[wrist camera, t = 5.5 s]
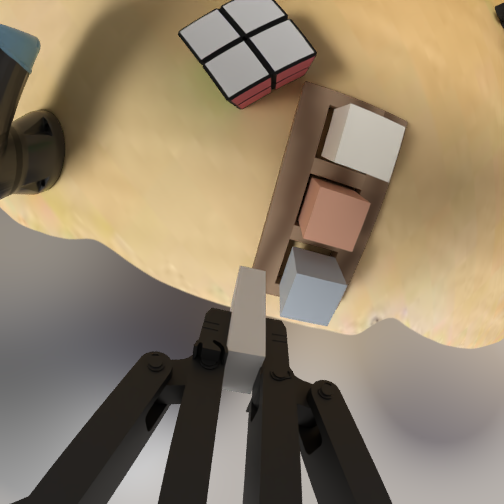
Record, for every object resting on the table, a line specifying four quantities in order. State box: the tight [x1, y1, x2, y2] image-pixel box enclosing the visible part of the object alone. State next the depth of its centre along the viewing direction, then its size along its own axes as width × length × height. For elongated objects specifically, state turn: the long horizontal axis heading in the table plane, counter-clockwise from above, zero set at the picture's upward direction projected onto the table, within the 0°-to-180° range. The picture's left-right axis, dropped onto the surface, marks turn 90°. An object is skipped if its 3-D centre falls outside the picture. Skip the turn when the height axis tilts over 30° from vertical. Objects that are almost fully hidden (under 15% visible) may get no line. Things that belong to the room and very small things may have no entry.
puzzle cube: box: [178, 0, 317, 109], centre depth 24 cm, size 10×10×10 cm
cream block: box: [321, 104, 405, 183], centre depth 25 cm, size 6×6×7 cm
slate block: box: [279, 247, 347, 326], centre depth 33 cm, size 6×6×7 cm
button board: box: [252, 81, 407, 309], centre depth 34 cm, size 14×29×2 cm, turn 166°
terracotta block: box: [298, 176, 371, 252], centre depth 32 cm, size 6×6×7 cm
